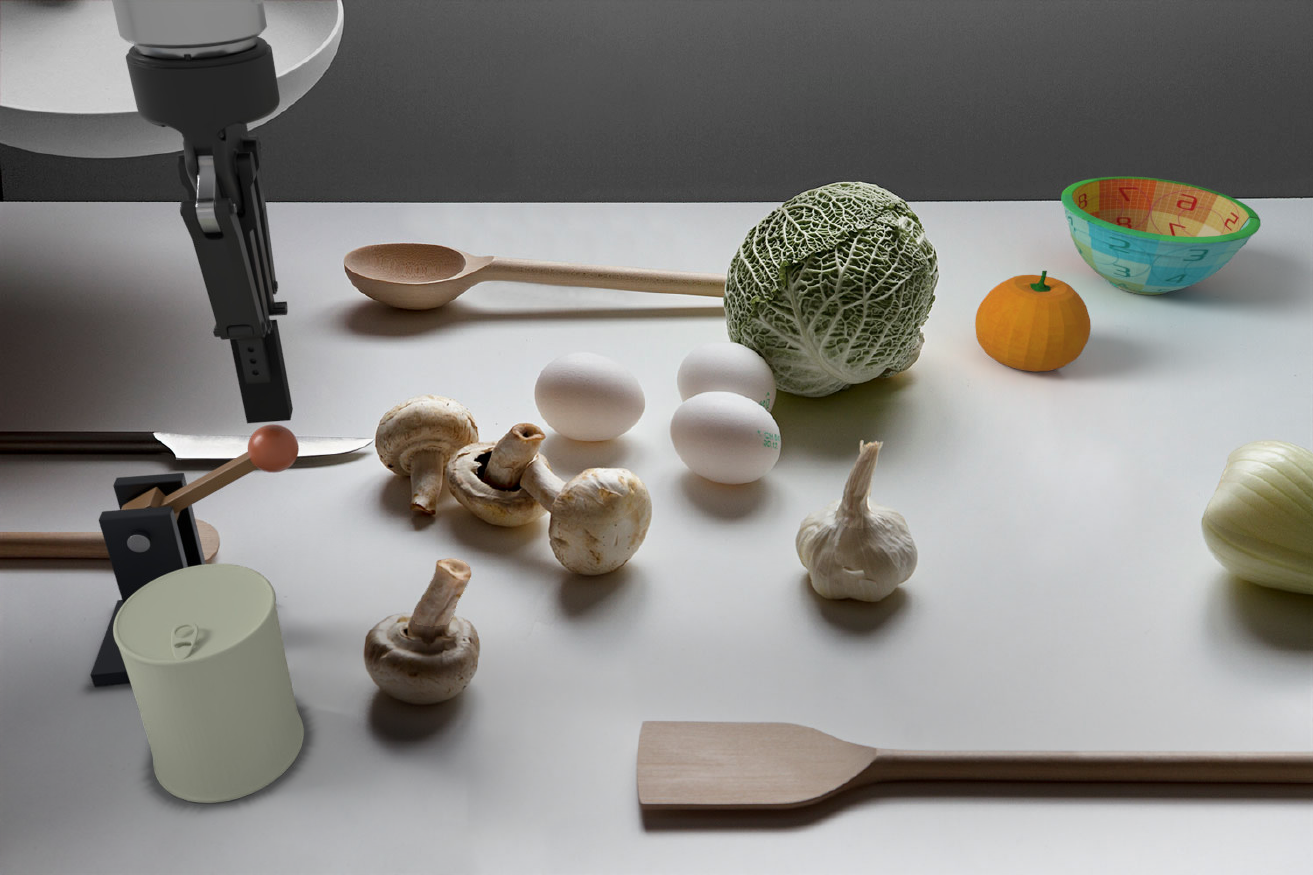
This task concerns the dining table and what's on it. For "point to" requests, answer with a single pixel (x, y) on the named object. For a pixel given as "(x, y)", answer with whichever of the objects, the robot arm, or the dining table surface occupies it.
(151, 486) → the bracket
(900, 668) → the dining table surface
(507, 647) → the dining table surface
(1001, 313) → the fruit
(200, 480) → the lever
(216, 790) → the can
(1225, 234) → the bowl
